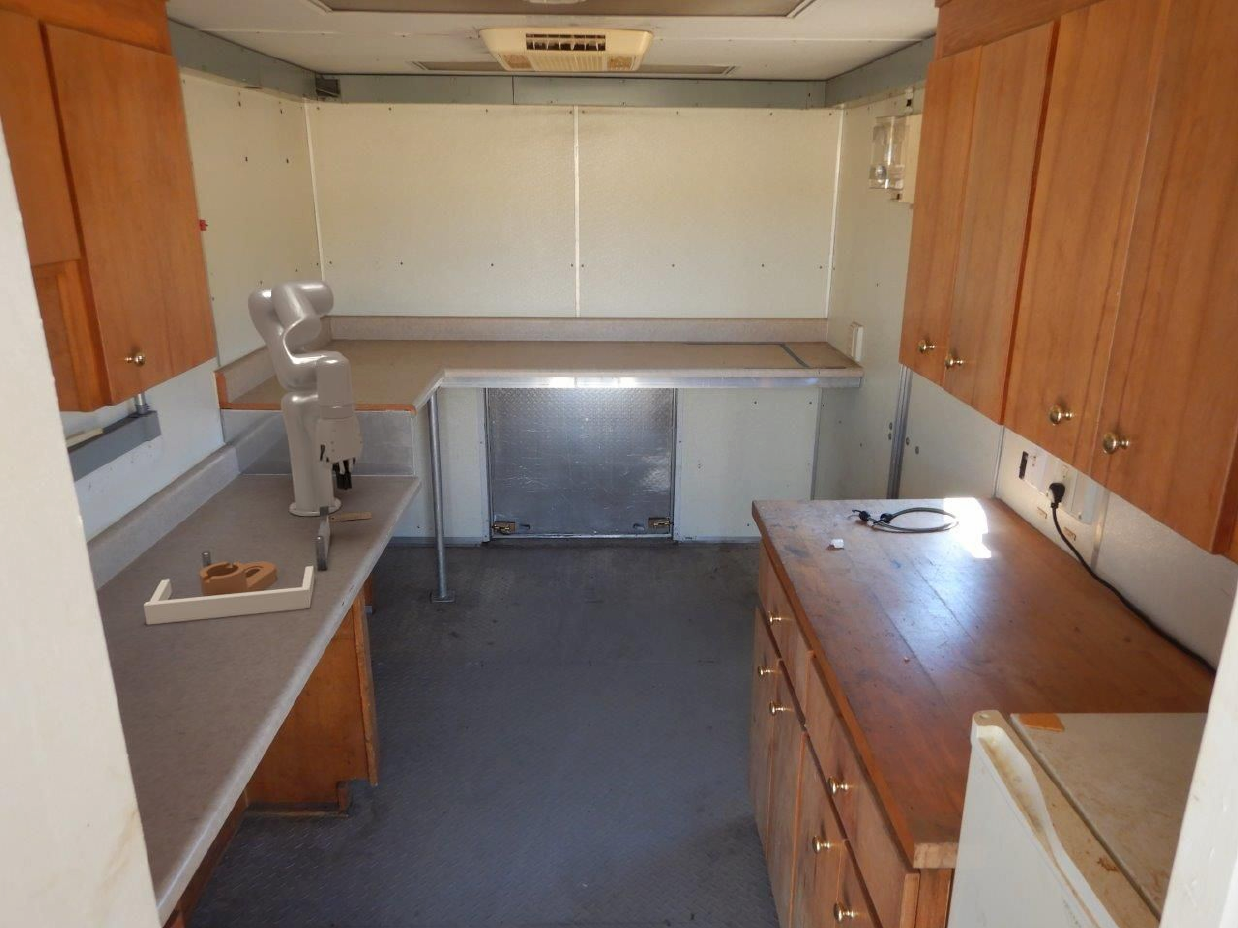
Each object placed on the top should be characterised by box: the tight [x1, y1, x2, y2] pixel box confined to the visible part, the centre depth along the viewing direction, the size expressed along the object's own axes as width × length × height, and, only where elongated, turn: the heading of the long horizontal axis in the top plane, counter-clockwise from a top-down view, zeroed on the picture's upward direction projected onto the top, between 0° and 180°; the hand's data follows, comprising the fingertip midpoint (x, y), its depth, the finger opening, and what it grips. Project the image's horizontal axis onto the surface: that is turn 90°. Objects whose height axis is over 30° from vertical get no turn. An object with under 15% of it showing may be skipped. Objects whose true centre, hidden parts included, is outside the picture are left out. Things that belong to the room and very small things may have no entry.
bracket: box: [199, 561, 278, 597], centre depth 180 cm, size 18×8×7 cm, turn 167°
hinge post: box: [313, 535, 328, 572], centre depth 190 cm, size 2×2×8 cm
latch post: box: [201, 550, 213, 569], centre depth 186 cm, size 2×2×6 cm
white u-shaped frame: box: [143, 565, 316, 625], centre depth 176 cm, size 14×30×4 cm, turn 105°
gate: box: [317, 506, 331, 561], centre depth 201 cm, size 18×2×8 cm, turn 15°
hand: (344, 488), depth 203 cm, fingers closed
